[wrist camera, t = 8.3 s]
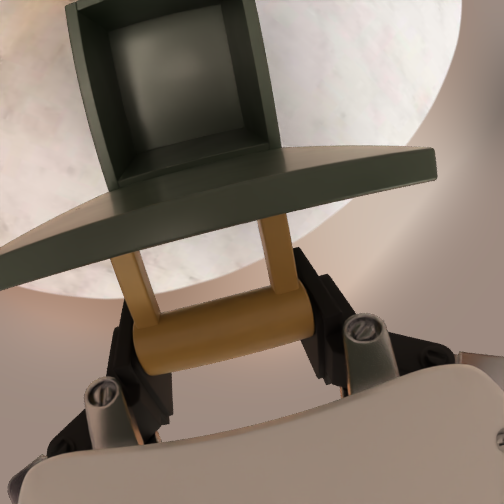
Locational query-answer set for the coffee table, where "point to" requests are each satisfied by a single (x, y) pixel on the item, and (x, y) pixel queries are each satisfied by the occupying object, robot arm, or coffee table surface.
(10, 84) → the coffee table surface
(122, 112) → the bin
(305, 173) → the bin lid
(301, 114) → the coffee table surface
